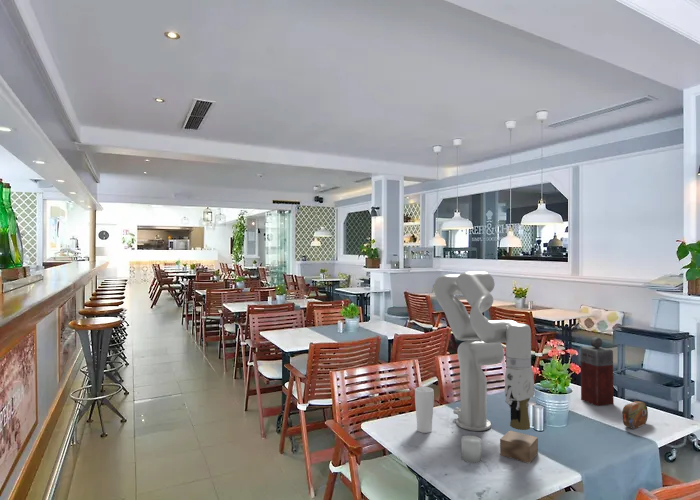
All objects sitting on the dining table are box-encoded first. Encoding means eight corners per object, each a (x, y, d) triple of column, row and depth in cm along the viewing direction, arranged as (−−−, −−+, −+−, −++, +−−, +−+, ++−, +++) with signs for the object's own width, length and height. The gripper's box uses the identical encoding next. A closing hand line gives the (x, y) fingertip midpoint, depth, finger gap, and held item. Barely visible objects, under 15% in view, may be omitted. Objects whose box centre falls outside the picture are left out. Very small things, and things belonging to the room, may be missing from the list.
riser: (500, 454, 137) (500, 439, 137) (509, 445, 144) (509, 430, 144) (529, 463, 132) (529, 446, 132) (537, 453, 139) (537, 437, 139)
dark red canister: (592, 396, 196) (592, 334, 197) (613, 404, 186) (613, 338, 186) (576, 397, 194) (576, 335, 195) (597, 406, 183) (596, 340, 184)
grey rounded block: (457, 457, 135) (457, 438, 136) (469, 452, 139) (469, 434, 139) (473, 465, 131) (473, 445, 131) (485, 459, 134) (485, 440, 134)
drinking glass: (425, 436, 152) (425, 393, 152) (411, 430, 157) (411, 388, 157) (437, 431, 156) (437, 389, 156) (423, 425, 161) (423, 385, 162)
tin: (629, 431, 157) (629, 407, 157) (620, 428, 159) (620, 405, 159) (648, 422, 165) (648, 400, 165) (639, 420, 167) (639, 398, 168)
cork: (532, 430, 135) (531, 395, 135) (511, 429, 136) (511, 394, 136) (528, 423, 140) (527, 389, 141) (508, 422, 142) (508, 388, 142)
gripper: (514, 368, 131) (514, 429, 130) (543, 361, 140) (544, 417, 140) (493, 363, 137) (493, 422, 136) (522, 356, 146) (523, 411, 146)
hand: (519, 419), depth 138 cm, fingers closed on cork, 3 cm apart
